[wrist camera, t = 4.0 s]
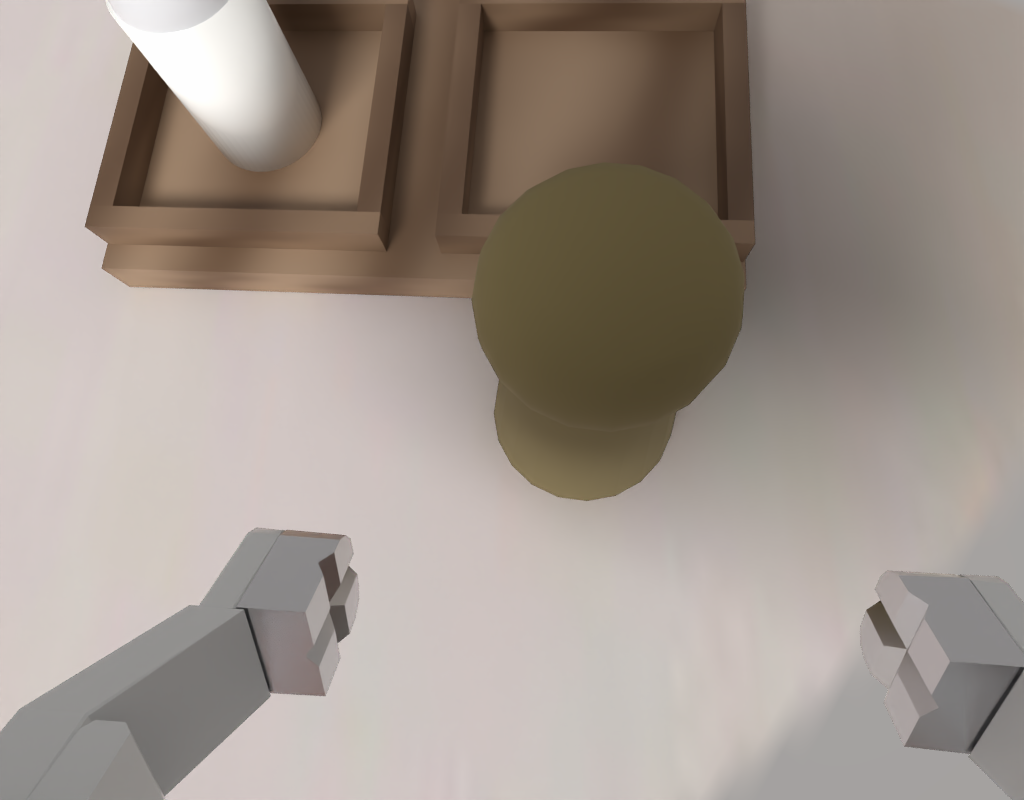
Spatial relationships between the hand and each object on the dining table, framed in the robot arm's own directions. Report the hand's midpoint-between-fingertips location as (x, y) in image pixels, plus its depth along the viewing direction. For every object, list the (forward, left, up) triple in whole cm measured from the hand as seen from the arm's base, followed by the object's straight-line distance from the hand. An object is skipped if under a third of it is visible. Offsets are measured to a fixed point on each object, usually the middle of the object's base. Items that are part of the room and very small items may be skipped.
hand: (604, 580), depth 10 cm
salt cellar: (-12, +15, -9) cm, 21 cm away
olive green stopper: (0, +5, -11) cm, 12 cm away
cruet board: (-6, +15, -10) cm, 20 cm away
